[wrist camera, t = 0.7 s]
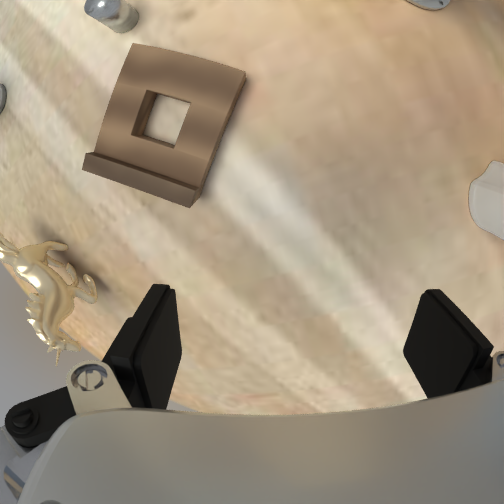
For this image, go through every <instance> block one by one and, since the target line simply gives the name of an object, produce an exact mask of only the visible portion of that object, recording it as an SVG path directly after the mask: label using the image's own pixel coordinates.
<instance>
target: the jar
mask: <svg viewBox="0 0 504 504" xmlns="http://www.w3.org/2000/svg"><path fill="white" fill-rule="evenodd" d="M469 208H470V213H471V216H472V218H473V220H474V222H475V223H476V224H477V225H478V226H479V227H480V228H482V229H483V230H485V231H488V232H490V233H492V234H494V235H496V236H497V237H499V238H501V239H503V240H504V164H503V163H501V162H498V161H492V162H491V163H490V164H489V166H488V168H487V169H486V171H485V172H484V173H483V174H482V175H481V176H480V177H479V178H477V179H475V180H474V181H473V182H472V183H471V185H470V190H469Z"/></svg>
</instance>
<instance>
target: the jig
mask: <svg viewBox="0 0 504 504" xmlns="http://www.w3.org/2000/svg"><path fill="white" fill-rule="evenodd" d="M245 81H246V73H245V71H242V70H239V69H236V68H233V67H229V66H226V65H223V64H220V63H216V62H213V61H209V60H206V59H202V58H199V57H195V56H191V55H187V54H183V53H179V52H175V51H170V50H166V49H161V48H156V47H151V46H146V45H141V44H135V43H133V44H132V46H131V48H130V50H129V53H128V55H127V57H126V60H125V62H124V65H123V67H122V69H121V72H120V74H119V77H118V80H117V82H116V85H115V87H114V90H113V93H112V96H111V99H110V101H109V104H108V107H107V110H106V113H105V116H104V119H103V123H102V126H101V129H100V133H99V136H98V139H97V143H96V147H95V150H94V152H91V153H86V155H85V159H84V163H83V167H82V170H84V171H87V172H90V173H93V174H96V175H99V176H101V177H104V178H107V179H110V180H113V181H116V182H118V183H121V184H124V185H127V186H130V187H133V188H135V189H138V190H141V191H144V192H146V193H149V194H152V195H155V196H158V197H160V198H163V199H166V200H169V201H171V202H174V203H177V204H179V205H182V206H185V207H188V208H190V207H191V206H192V205H193V204H194V203H195V202H196V201H197V199H198V198H199V197H200V194H201V191H202V189H203V186H204V183H205V180H206V178H207V175H208V172H209V170H210V167H211V164H212V162H213V159H214V156H215V154H216V151H217V148H218V146H219V143H220V141H221V138H222V136H223V133H224V131H225V128H226V126H227V123H228V121H229V118H230V116H231V113H232V111H233V109H234V106H235V104H236V101H237V99H238V97H239V94H240V92H241V90H242V87H243V85H244V83H245ZM157 94H160V95H164V96H167V97H171V98H174V99H178V100H181V101H184V102H188V103H191V104H190V107H189V109H188V112H187V114H186V117H185V120H184V122H183V125H182V128H181V130H180V133H179V136H178V138H177V141H176V144H175V145H173V144H170V143H167V142H164V141H160V140H157V139H154V138H151V137H148V136H145V135H143V132H144V129H145V126H146V123H147V121H148V118H149V115H150V112H151V109H152V107H153V104H154V101H155V99H156V96H157Z"/></svg>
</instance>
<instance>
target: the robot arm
mask: <svg viewBox="0 0 504 504" xmlns="http://www.w3.org/2000/svg"><path fill="white" fill-rule="evenodd" d="M407 1H409V2H410V3H412V4H414V5H416V6H419V7H421V8H424V9H428V10H438V9H442V8H444V7H445V6H447V5H448V4H449V2H450V1H451V0H407ZM493 348H494V346H493V345H492V344H491V343H490V341H489V340H488V339H487V338H486V337H485V336H484V335H483V334H482V332H481V331H480V330H479V329H478V328H477V327H476V326H475V325H474V324H473V323H472V322H471V321H470V319H469V318H468V317H467V316H466V315H465V314H464V313H463V312H462V311H461V310H460V309H459V308H458V307H457V306H456V305H455V304H454V303H453V302H452V301H451V300H450V299H449V298H448V297H447V296H446V295H445V294H444V293H443V292H442V291H441V290H440V289H427V290H426V291H425V292H424V293H423V294H422V295H421V297H420V301H419V304H418V307H417V311H416V314H415V317H414V320H413V323H412V326H411V329H410V331H409V334H408V337H407V340H406V343H405V345H404V349H403V353H404V356H405V358H406V360H407V362H408V363H409V365H410V367H411V369H412V371H413V372H414V374H415V376H416V378H417V380H418V381H419V383H420V385H421V387H422V389H423V391H424V392H425V394H426V396H427V398H428V399H424V400H419V401H413V402H408V403H402V404H397V405H390V406H384V407H377V408H369V409H361V410H352V411H342V412H330V413H315V414H294V415H241V414H218V413H202V412H188V411H187V412H186V411H175V410H166V408H167V404H168V401H169V397H170V394H171V390H172V387H173V383H174V380H175V377H176V373H177V370H178V366H179V363H180V360H181V355H182V347H181V339H180V331H179V322H178V313H177V304H176V294H175V290H174V289H170V286H169V285H165V284H153V285H152V286H151V288H150V289H149V291H148V293H147V294H146V296H145V297H144V299H143V301H142V302H141V304H140V306H139V307H138V309H137V310H136V312H135V314H134V315H133V317H130V318H128V319H127V320H126V322H125V323H124V325H123V326H122V328H121V330H120V331H119V333H118V335H117V336H116V338H115V340H114V341H113V343H112V345H111V346H110V348H109V350H108V351H107V353H106V355H105V356H104V358H103V360H102V362H101V361H95V360H89V361H85V362H81V363H79V364H77V365H76V366H74V367H73V368H71V370H70V371H69V372H68V374H67V378H66V384H67V386H66V387H63V388H60V389H58V390H55V391H52V392H50V393H47V394H44V395H41V396H38V397H36V398H33V399H30V400H27V401H24V402H21V403H19V404H17V405H15V406H13V407H12V408H11V409H10V410H9V411H8V413H7V415H6V418H5V425H4V426H2V427H0V504H504V351H499V352H496V353H495V354H494V355H493V357H491V356H490V354H491V352H492V350H493Z"/></svg>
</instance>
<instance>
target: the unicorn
mask: <svg viewBox="0 0 504 504" xmlns="http://www.w3.org/2000/svg"><path fill="white" fill-rule="evenodd" d="M67 249H68V246H67V245H66V244H61V243H57V242H53V241H46V242H43V243H41V244H36V245H29V246H25V247H23V248H21V249H18V248H17V247H16V246H15V245H14V244H13V243H11V242H9V241H7V239H5V238H4V236H3V235H2V234H1V233H0V261H2V262H3V263H7V264H9V265H11V266H13V268H14V272H15V274H16V275H17V276H18V277H19V278H21V279H23V280H24V281H27V282H28V283H30V284H31V285H32V286H33V287H34V288H35V289H36V290H37V291H38V292H39V293H37V294H36V293H34V294H33V293H30V294H29V296H30V299H31V301H30V300H27V302H28V305H29V307H26V310H27V311H28V312H29V314H30V315H31V319H27V321H28V322H29V323H30V324H31V325H32V326H33V327H34V329H35V331H36V334H37V335H38V337H39V338H40V339H41V340H42V341H43V342H44V343H46V344H49V345H50V347H49V348H48V351H47V353H49V352H51V351H53V350H54V349H55V348H56V349H57V355H56V356H57V357H56V358H57V359H56V366H57V363H58V358H59V355H60V352H61V351H63V350H69V351H77V352H79V351H80V350H81V345H80V343H79V342H78V341H74V340H72V339H70V338H69V337H68V336H67V335H66V334H64V333H63V332H61V331H59V326H60V324H61V322H62V321H63V320H64V319H66V318H67V317H68V316H69V315H70V314H71V313H72V312H73V310H74V298H75V297H79V298H81V299H83V300H85V301H86V302H88V303H91V304H94V303H96V301H97V292H96V286H95V282H94V280H93V279H92V278H91V277H90V276H89V275H87V274H84V276H83V280H84V282H85V283H86V284H87V285H88V287H89V289H90V292H91V295H90V294H89V293H87V292H86V291H84V290H83V289H81V288H79V287H77V286H78V284H79V280H78V278H77V275H76V271H75V268H74V267H73V266H72V265H71V264H70V263H69V262H68V263H67V265H66V271H67V272H68V273H69V275H70V276H71V279H72V282H73V283H72V284H71V285H67V284H66V282H65V281H64V280H63V278H62V277H61V276H60V275H59V274H58V273H57V272H55V271H54V270H53V269H52V268H50V267H49V266H48V264H49V265H51V266H54V267H65V266H64V264H63V263H60V262H58V261H56V260H54V259H52V258H51V257H50V256H48V255H47V254H46V253H47V251H48V250H59V251H65V250H67Z"/></svg>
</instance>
